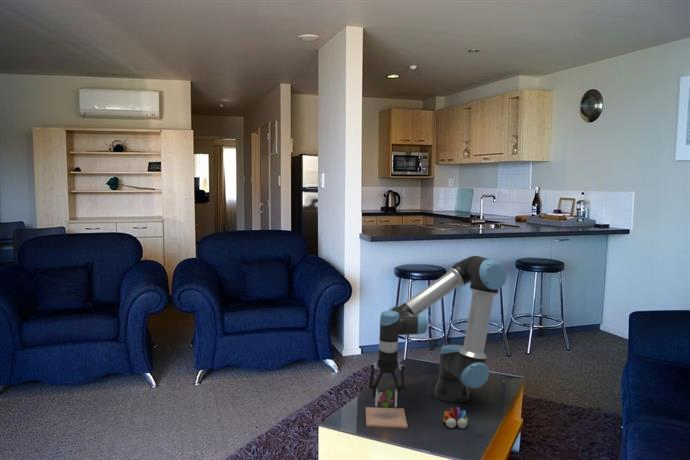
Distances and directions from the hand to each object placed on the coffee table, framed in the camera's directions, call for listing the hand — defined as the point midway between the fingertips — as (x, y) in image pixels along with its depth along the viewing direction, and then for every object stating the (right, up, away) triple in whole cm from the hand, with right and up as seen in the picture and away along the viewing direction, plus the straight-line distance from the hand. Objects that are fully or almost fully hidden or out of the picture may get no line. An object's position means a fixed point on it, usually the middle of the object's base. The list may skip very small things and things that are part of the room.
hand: (385, 405), depth 215 cm
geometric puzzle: (0, 0, 0) cm, 1 cm away
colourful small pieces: (+27, -7, -3) cm, 28 cm away
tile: (0, -5, +1) cm, 5 cm away
